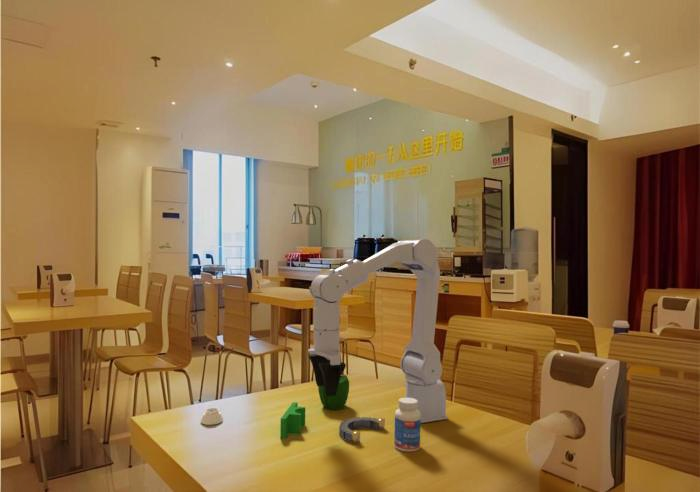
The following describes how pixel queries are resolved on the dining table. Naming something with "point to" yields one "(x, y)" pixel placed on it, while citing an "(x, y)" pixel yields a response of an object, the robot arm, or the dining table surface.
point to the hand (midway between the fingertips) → (326, 390)
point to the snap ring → (358, 422)
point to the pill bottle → (407, 425)
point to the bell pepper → (339, 398)
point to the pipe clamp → (292, 420)
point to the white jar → (212, 417)
